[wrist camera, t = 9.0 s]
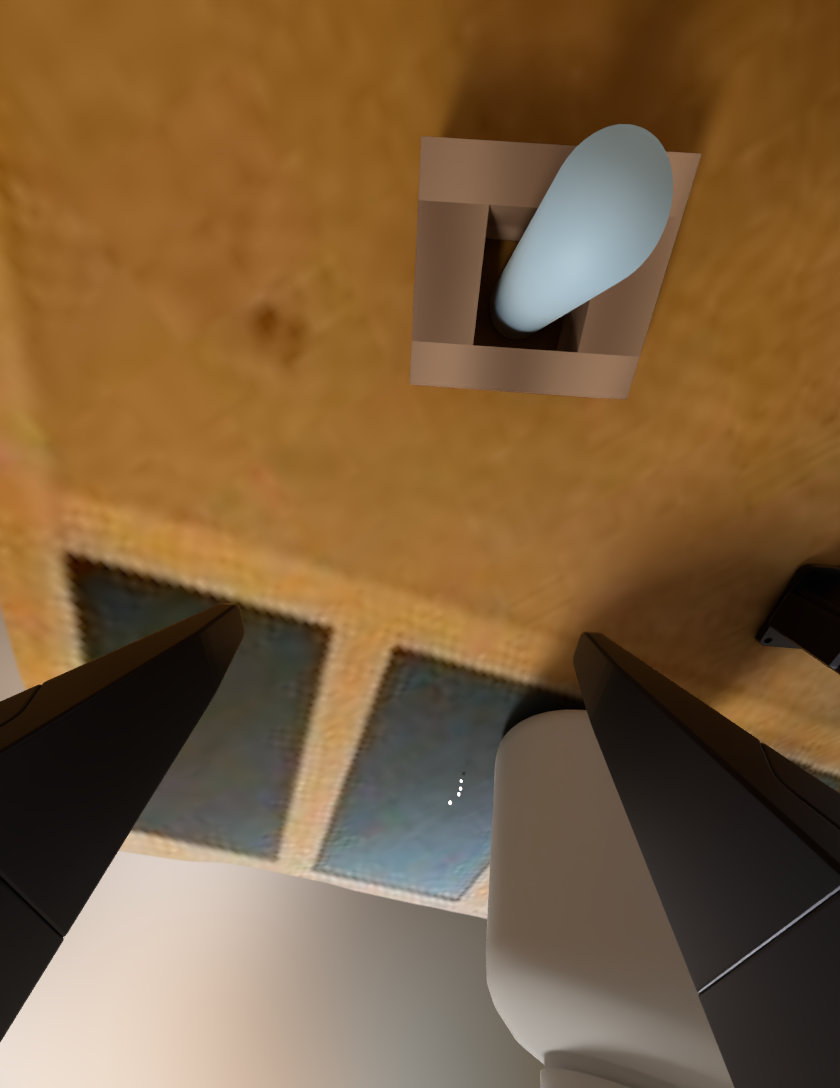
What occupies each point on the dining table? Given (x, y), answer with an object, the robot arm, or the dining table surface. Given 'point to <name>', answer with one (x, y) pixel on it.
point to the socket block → (504, 214)
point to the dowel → (586, 229)
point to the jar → (584, 924)
